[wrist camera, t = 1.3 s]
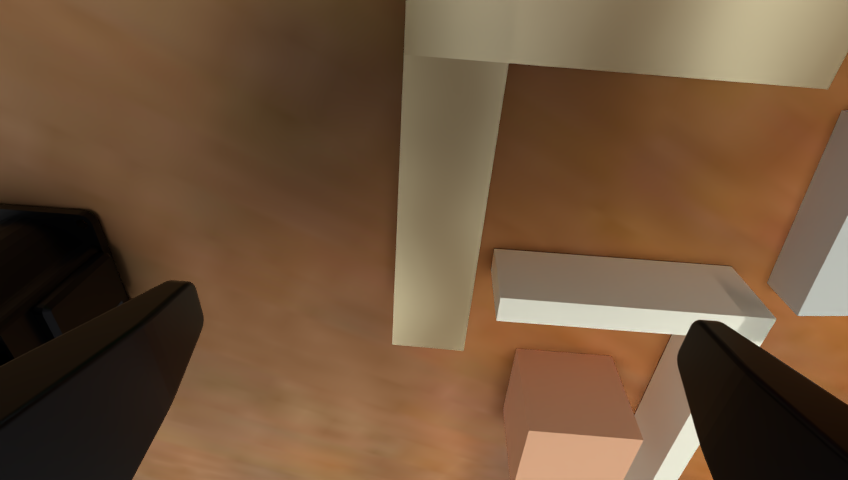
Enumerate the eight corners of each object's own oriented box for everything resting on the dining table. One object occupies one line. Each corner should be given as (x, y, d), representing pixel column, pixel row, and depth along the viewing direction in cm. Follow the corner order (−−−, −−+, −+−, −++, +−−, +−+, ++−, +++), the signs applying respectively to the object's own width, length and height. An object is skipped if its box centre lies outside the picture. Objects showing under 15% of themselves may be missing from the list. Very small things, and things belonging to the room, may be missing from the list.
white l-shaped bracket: (463, 443, 29) (464, 499, 26) (494, 248, 21) (500, 297, 18) (634, 457, 29) (655, 516, 26) (731, 266, 21) (776, 318, 18)
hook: (401, 285, 23) (392, 344, 19) (418, -50, 15) (408, -49, 12) (646, 307, 23) (679, 370, 19) (785, -21, 15) (881, -12, 12)
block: (502, 408, 27) (511, 492, 23) (516, 347, 24) (529, 430, 20) (588, 415, 27) (612, 501, 23) (611, 354, 24) (643, 440, 20)
